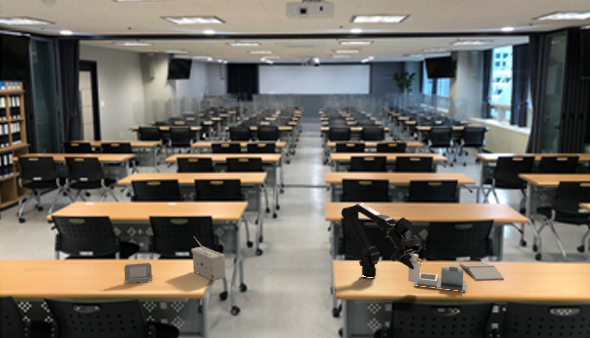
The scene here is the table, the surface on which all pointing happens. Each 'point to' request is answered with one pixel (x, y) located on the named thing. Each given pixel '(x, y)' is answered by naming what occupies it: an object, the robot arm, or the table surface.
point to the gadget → (482, 271)
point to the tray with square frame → (444, 279)
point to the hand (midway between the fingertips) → (416, 267)
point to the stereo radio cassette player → (208, 263)
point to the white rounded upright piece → (415, 273)
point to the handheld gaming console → (138, 273)
